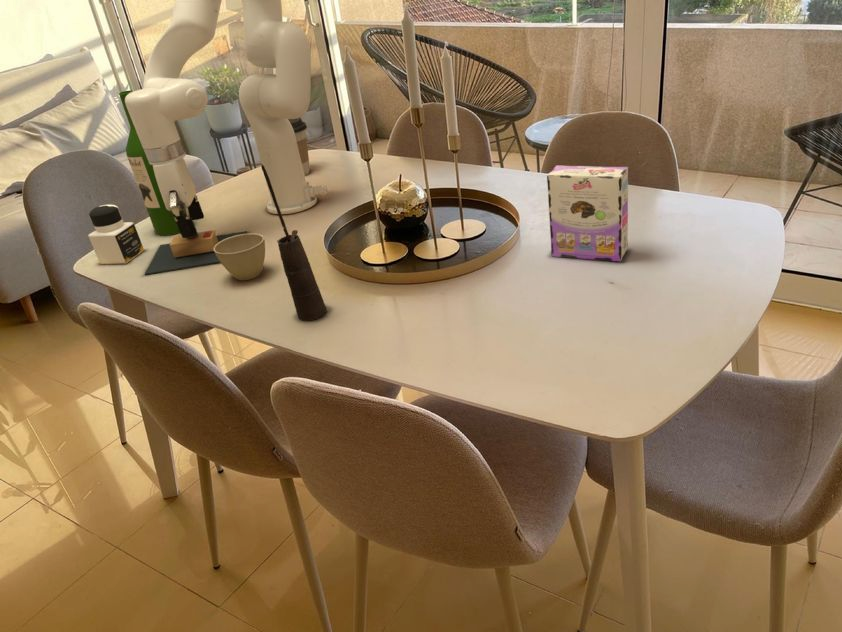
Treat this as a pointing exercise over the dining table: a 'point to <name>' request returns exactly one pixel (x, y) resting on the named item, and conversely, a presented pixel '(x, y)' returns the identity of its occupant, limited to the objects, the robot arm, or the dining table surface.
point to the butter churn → (298, 271)
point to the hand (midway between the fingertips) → (193, 227)
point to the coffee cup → (301, 142)
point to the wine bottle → (148, 181)
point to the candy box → (588, 212)
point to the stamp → (194, 244)
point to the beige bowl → (242, 255)
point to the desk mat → (167, 262)
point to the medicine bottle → (113, 236)
